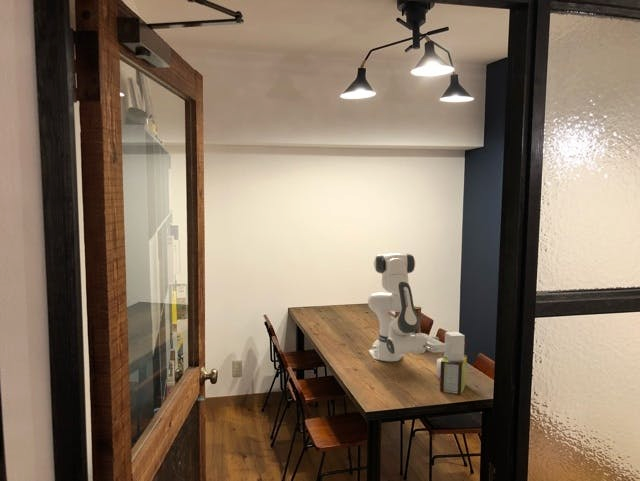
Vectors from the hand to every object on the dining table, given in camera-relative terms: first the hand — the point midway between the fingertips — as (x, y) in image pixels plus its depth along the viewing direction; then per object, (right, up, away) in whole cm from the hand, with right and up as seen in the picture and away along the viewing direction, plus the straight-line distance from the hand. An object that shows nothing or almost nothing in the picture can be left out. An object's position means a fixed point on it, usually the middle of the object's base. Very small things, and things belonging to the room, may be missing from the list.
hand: (443, 341), depth 239 cm
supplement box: (+5, -9, +2) cm, 11 cm away
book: (-4, -18, +75) cm, 78 cm away
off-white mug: (+5, -23, +19) cm, 30 cm away
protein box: (+6, -24, +4) cm, 25 cm away
